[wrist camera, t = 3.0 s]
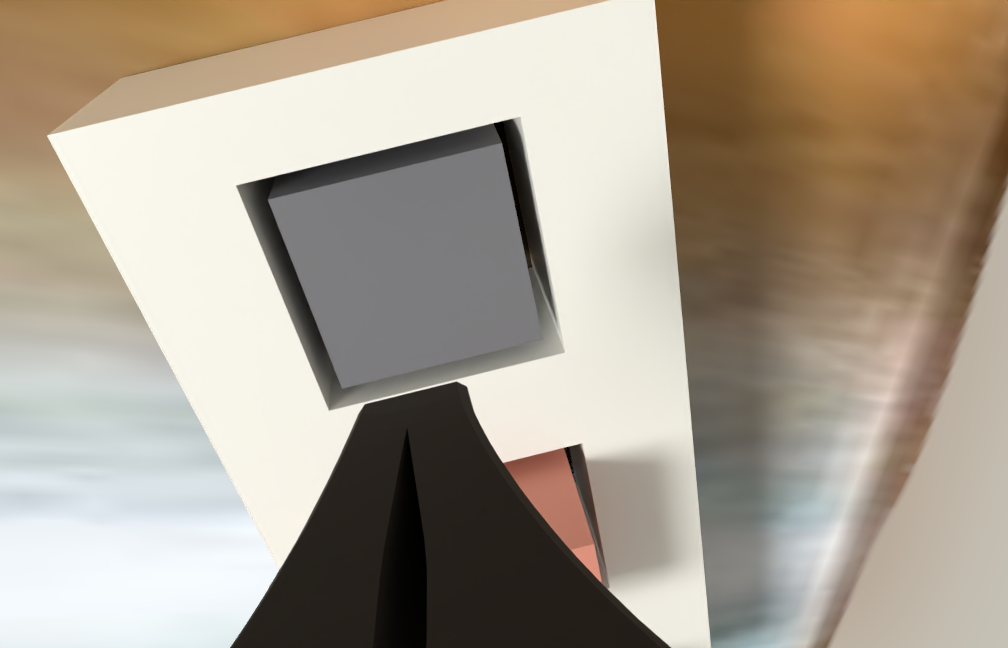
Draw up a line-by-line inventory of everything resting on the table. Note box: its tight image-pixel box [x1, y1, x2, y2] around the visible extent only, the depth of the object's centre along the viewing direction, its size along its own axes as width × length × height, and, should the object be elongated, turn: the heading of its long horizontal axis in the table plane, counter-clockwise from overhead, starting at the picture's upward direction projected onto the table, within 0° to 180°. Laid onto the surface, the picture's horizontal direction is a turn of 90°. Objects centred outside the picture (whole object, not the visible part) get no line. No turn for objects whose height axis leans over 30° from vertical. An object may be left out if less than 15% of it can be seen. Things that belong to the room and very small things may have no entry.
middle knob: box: [504, 448, 602, 583], centre depth 17 cm, size 4×4×3 cm
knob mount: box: [47, 0, 711, 648], centre depth 20 cm, size 23×10×4 cm, turn 12°
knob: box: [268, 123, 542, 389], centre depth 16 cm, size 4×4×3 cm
